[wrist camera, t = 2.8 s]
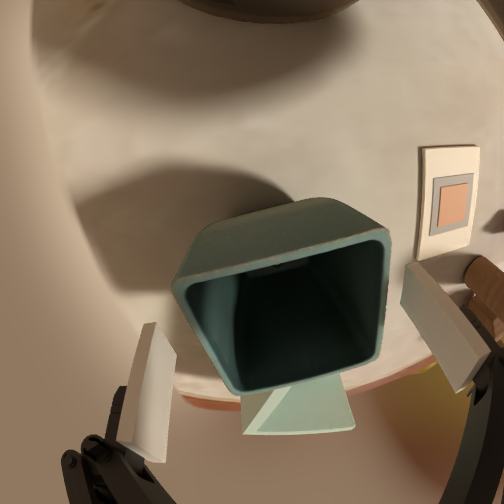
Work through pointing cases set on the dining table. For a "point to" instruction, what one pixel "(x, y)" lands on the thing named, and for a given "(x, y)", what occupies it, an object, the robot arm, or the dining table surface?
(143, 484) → the robot arm
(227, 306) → the flower pot
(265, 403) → the right angle wall
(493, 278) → the wooden block set
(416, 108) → the dining table surface
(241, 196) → the dining table surface
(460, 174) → the card
